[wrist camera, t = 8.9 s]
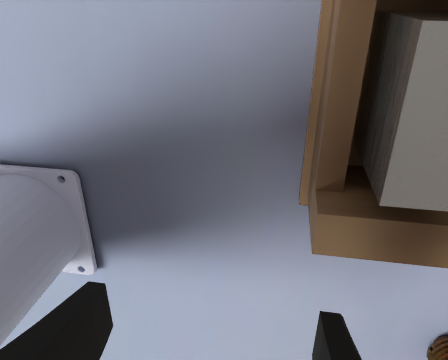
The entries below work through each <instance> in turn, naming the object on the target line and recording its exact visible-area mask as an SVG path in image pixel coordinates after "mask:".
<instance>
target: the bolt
mask: <svg viewBox="0 0 448 360" xmlns="http://www.w3.org/2000/svg"><path fill="white" fill-rule="evenodd" d="M431 347H432V348H433V349H431V348H429V347H428V350H427V358H428V360H448V336H442V337H439V338H437V339H436V340H434V344H433V345H431Z"/></svg>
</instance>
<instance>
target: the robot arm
mask: <svg viewBox="0 0 448 360" xmlns="http://www.w3.org/2000/svg"><path fill="white" fill-rule="evenodd" d="M61 176H63V177H64V178H65V180H63V179H62V178H61ZM81 266H82V267H81ZM96 270H97V264H96V259H95V254H94V249H93V244H92V239H91V234H90V229H89V224H88V219H87V214H86V209H85V204H84V198H83V193H82V188H81V183H80V178H79V176H78V174H77V173H76V172H74V171H72V170H62V169H50V168H38V167H26V166H14V165H2V164H0V345H1V344H2V343H3V342H4V340H5V339H6V338H7V337H8V336H9V334H10V333H11V332H12V331H13V330H14V328H15V327H16V326H17V325H18V323H19V322H20V321H21V320H22V319H23V317H24V316H25V315H26V314H27V313H28V311H29V310H30V309H31V308H32V306H33V305H34V304H35V303H36V302H37V300H38V299H39V298H40V297H41V296H42V294H43V293H44V292H45V291H46V289H47V288H48V287H49V286H50V285H51V283H52V282H53V281H54V280H55V279H56V277H57V276H58V275H59V274H60V272H69V273H77V274H85V275H93V274H94V273H95V272H96ZM112 328H113V322H112V317H111V312H110V306H109V301H108V296H107V291H106V285H105V283H97V282H87V283H86V284H85V285H83V286H82V287H81V288H80V289H78V290H77V291H76V292H75V293H74V294H72V295H71V296H70V297H69V298H67V299H66V300H65V301H64V302H62V303H61V304H60V305H59V306H57V307H56V308H55V309H54V310H52V311H51V312H50V313H49V314H47V315H46V316H45V317H43V318H42V319H41V320H40V321H38V322H37V323H36V324H35V325H33V326H32V327H31V328H29V329H28V330H27V331H25V332H24V333H22V334H21V335H20V336H18V337H17V338H16V339H14V340H13V341H11V342H10V343H9V344H7V345H6V346H5V347H3V348H2V349H0V360H99V359H100V357H101V355H102V353H103V350H104V348H105V346H106V343H107V341H108V338H109V335H110V333H111V330H112ZM312 360H362V359H361V357H360V355H359V353H358V351H357V349H356V346H355V344H354V342H353V340H352V338H351V335H350V333H349V331H348V328H347V326H346V324H345V321H344V318H343V316H342V315H341V314H339V313H331V312H323V311H320V314H319V320H318V325H317V331H316V337H315V342H314V348H313V354H312Z"/></svg>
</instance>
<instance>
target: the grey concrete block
mask: <svg viewBox="0 0 448 360" xmlns="http://www.w3.org/2000/svg"><path fill="white" fill-rule="evenodd" d="M354 144H355V147H356V149H357V152H358V154H359V157H360V159H361V162H362V164H363V166H364V169H365V171H366V174H367V176H368V179H369V181H370V184H371V186H372V189H373V191H374V193H375V196H376V198H377V201H378V203H379V206H390V207H401V208H413V209H425V210H436V211H448V11H378V15H377V20H376V26H375V31H374V37H373V42H372V48H371V53H370V59H369V64H368V70H367V75H366V81H365V86H364V92H363V97H362V103H361V108H360V114H359V119H358V125H357V131H356V136H355V142H354Z"/></svg>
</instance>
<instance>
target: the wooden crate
mask: <svg viewBox="0 0 448 360" xmlns="http://www.w3.org/2000/svg"><path fill="white" fill-rule="evenodd" d="M378 11H448V0H322V4H321V12H320V21H319V30H318V38H317V47H316V56H315V64H314V73H313V81H312V90H311V99H310V107H309V116H308V125H307V133H306V142H305V151H304V159H303V168H302V177H301V185H300V194H299V205H308V208H309V221H310V234H311V247H312V254H319V255H328V256H338V257H347V258H356V259H366V260H375V261H385V262H394V263H403V264H413V265H422V266H432V267H441V268H448V211H436V210H425V209H413V208H401V207H390V206H379V203H378V201H377V198H376V196H375V193H374V191H373V189H372V186H371V184H370V181H369V179H368V176H367V174H366V171H365V169H364V166H363V164H362V162H361V159H360V157H359V154H358V152H357V149H356V147H355V144H354V142H355V136H356V131H357V125H358V119H359V114H360V108H361V103H362V97H363V92H364V86H365V81H366V75H367V70H368V64H369V59H370V53H371V48H372V42H373V37H374V31H375V26H376V20H377V15H378Z"/></svg>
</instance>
